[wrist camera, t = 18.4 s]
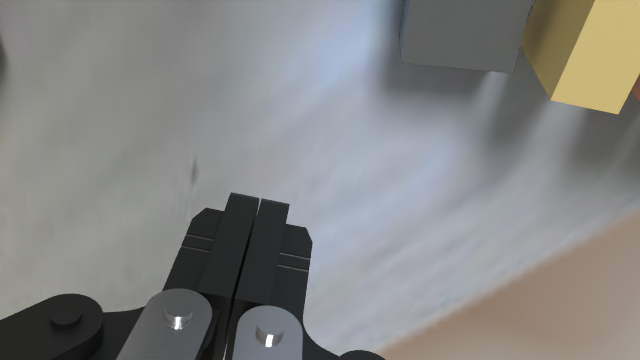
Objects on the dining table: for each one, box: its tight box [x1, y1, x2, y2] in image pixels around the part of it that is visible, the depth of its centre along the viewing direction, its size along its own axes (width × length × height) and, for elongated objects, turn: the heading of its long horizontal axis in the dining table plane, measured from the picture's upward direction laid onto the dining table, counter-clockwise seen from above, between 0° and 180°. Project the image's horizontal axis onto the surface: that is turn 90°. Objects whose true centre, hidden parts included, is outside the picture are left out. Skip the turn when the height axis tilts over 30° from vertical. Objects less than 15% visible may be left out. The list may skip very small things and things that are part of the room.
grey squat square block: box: [399, 0, 532, 73], centre depth 38 cm, size 7×7×5 cm
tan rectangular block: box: [520, 0, 640, 114], centre depth 36 cm, size 4×6×9 cm, turn 169°
